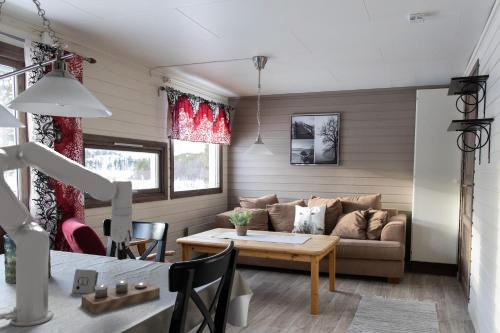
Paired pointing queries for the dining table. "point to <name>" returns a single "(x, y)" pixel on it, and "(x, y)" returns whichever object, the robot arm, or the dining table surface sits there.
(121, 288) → the knob mid
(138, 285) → the knob far
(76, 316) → the dining table surface
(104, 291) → the knob near
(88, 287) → the electrical switch
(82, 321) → the dining table surface
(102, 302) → the knob mount
